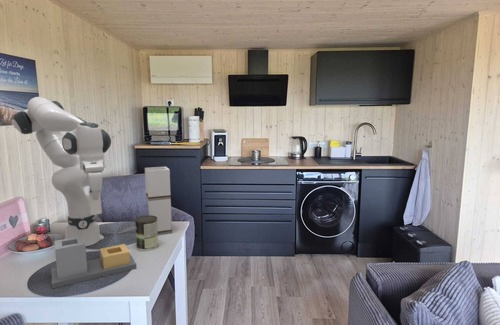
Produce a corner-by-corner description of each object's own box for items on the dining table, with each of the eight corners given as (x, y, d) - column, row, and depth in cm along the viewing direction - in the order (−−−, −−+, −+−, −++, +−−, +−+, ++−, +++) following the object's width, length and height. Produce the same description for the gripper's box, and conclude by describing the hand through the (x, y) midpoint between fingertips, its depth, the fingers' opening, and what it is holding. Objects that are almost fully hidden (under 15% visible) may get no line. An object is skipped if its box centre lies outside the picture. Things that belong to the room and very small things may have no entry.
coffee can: (133, 251, 152) (132, 222, 150) (139, 242, 162) (138, 215, 160) (156, 250, 153) (154, 221, 151) (160, 241, 163) (159, 214, 161)
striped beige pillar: (168, 227, 185) (166, 166, 179) (171, 233, 175) (169, 169, 170) (147, 229, 180) (144, 167, 175) (150, 236, 170) (147, 170, 165)
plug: (90, 212, 131) (88, 188, 129) (100, 211, 133) (98, 186, 131) (91, 215, 127) (89, 189, 126) (101, 213, 129) (99, 188, 128)
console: (51, 273, 131) (48, 240, 129) (129, 256, 146) (127, 226, 144) (52, 288, 119) (48, 252, 117) (136, 268, 135) (134, 236, 132)
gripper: (81, 161, 134) (84, 194, 136) (85, 168, 117) (88, 205, 119) (98, 160, 138) (100, 192, 140) (104, 166, 120) (106, 202, 122)
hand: (95, 198), depth 129 cm, fingers closed on plug, 4 cm apart
